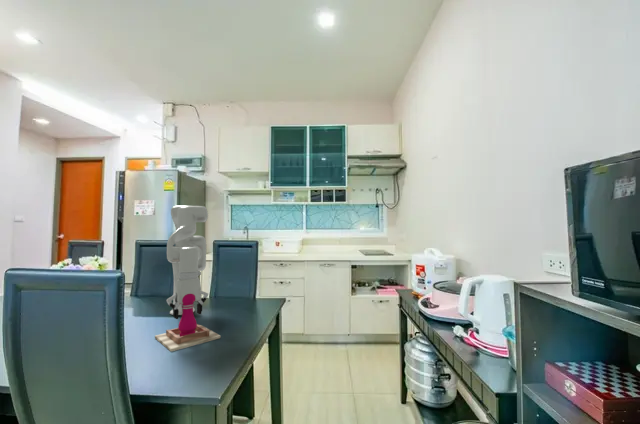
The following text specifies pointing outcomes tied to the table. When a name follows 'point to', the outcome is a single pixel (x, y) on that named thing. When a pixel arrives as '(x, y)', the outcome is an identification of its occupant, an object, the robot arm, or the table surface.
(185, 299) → the pepper mill
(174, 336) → the board
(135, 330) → the table surface
